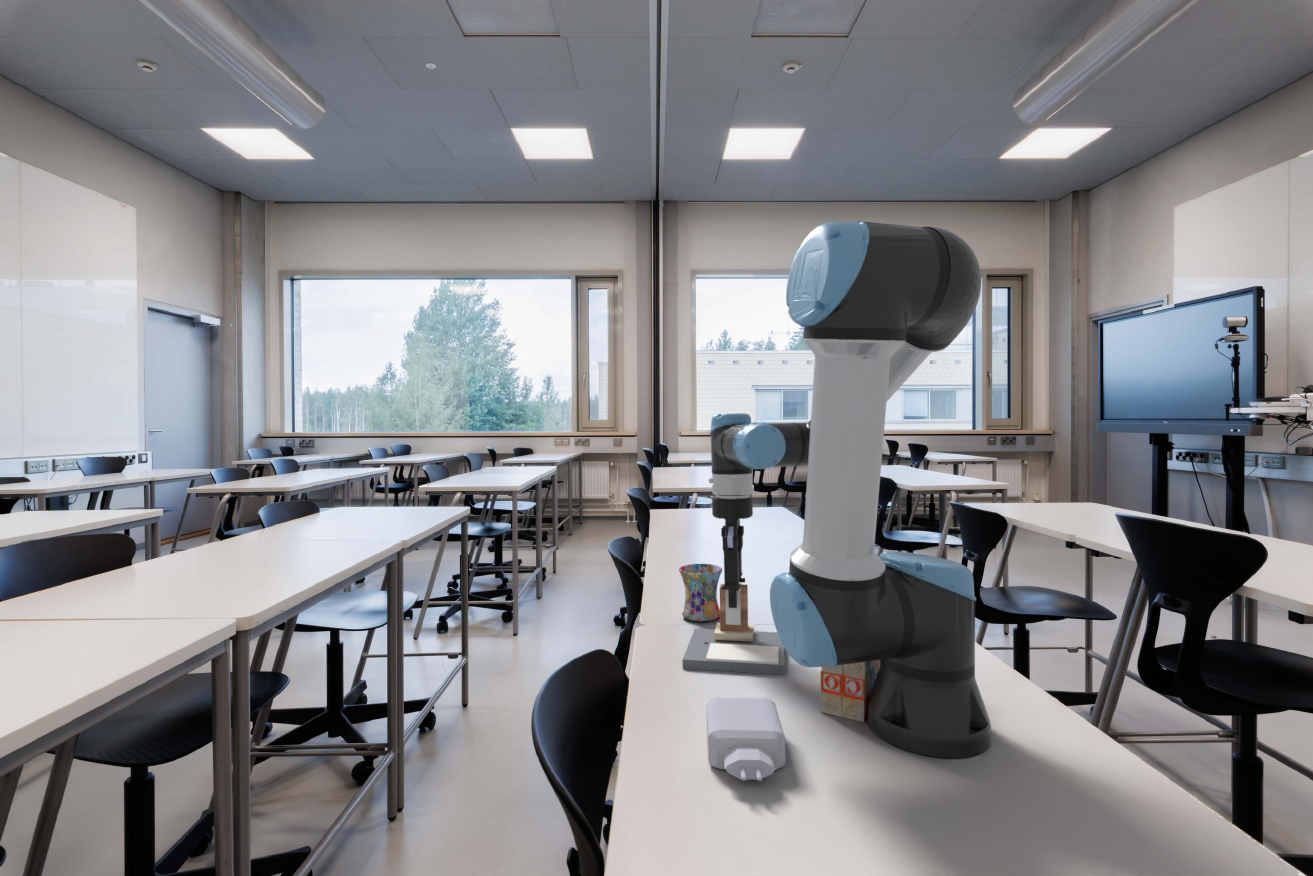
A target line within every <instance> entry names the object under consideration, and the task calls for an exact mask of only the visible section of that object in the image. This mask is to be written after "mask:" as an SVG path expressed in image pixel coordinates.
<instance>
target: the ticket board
mask: <svg viewBox="0 0 1313 876" xmlns="http://www.w3.org/2000/svg"><path fill="white" fill-rule="evenodd" d="M714 632H715V628H714V629H712V628H694V630H693V632H692V635H691V637H690V640H689V642H688V645H687V647H686V650H685V652H684V655H683V657H682V659H681V660H682V669H690V670H704V671H720V672H721V671H722V672H737V673H740V672H741V673H753V674H754V673H756V674H769V675H783V676H784V675H786V674H785V673H786V672H785V670H786V669H785V666H786V665H785V648H784V646H783V644H782V642H781V640H780V638H779V635H778V632H777V631H776V632H774V631H757V630H756V631H755V630H754V634H753V642H750V641H730V640H714Z"/></svg>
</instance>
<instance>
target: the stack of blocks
mask: <svg viewBox="0 0 1313 876" xmlns="http://www.w3.org/2000/svg"><path fill="white" fill-rule="evenodd" d="M879 667H880V660H876V661H868V662H860V663H852V664H844V665H836V666H835V667H833V668H829V667H827V666H824V667H820V668H821V670H820V713H823V714H827V715H831V716H835V717H839V718H843V719H848V720H853V721H856V722H862V723H865V722H866V720H867V703H868V699H869V696H870V693H871V691H872V688H873V685H874V682H875V679H876V676H877V673H878V670H879Z"/></svg>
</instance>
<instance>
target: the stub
mask: <svg viewBox="0 0 1313 876" xmlns="http://www.w3.org/2000/svg"><path fill="white" fill-rule="evenodd" d="M724 584H725V583H721V584H720V586H719V609H720V617H719V622H716V625H715V628H714V629H715V632H714V640H730V641H750V642H753V634H754V631H755V624H754V623H749V602H748V601H749V598H748V596H749V594H748V593H749V589H748V587H749V586H748V584H743V583H741V584H739V585H740V588H739V589H740V598H741V625H730V624H726V600H725V590H722V589H721V587H722V586H724Z"/></svg>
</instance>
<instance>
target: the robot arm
mask: <svg viewBox="0 0 1313 876" xmlns="http://www.w3.org/2000/svg"><path fill="white" fill-rule="evenodd" d="M980 268H981V267H980V263H979V261H978V258H977V257H976V254H975V252H974V250H973V249H972V247H971V246H970V245H969V244H968V243H967V242H966V241H965V240H964V239H963V238H961V237H960V236H959V235H958V234H956V233H954V232H952V231H949V230H947V229H944V228H941V227H934V226H915V225H914V226H913V225H903V224H892V223H882V222H873V221H872V222H871V221H863V220H854V221H853V220H852V221H830V222H825V223H822V224H821V225H818V226H817V227H815V228H814V229H813V230H812V231H810V232H809V234H808V235H807V236H806V237H804V240H803V241H802V243H801V244H800V246H799V248H798V249H797V251H796V253H795V255H794V257H793V260H792V263H791V266H790V269H789V273H788V279H787V283H786V290H785V291H786V294H785V297H786V306H787V307H788V311H787V312H788V315H789V318H790V319H791V320H792V322H793V323H795V324H796V325H798V326H800V327H803V337H802V341H803V343H804V344H805V346H806V347H808V348H809V350H811V352H812V353H813V355H814V365H813V382H812V396H811V398H812V399H811V412H810V420H809V421H807V422H774V423H772V422H770V423H769V422H767V423H766V422H752V416H751V415H750V414H748V413H741V412H736V413H716V414H714V415H713V416H712V417H711V423H710V432H709V434H710V448H711V449H710V451H711V453H710V454H711V458H710V459H711V477H710V478H709V479H708V483H709V484H713V485H711V487H712V488H711V489H712V492H711V493H712V495H714V497H712V499H711V504H712V505H711V508H712V511H711V512H712V514H711V515H712V516H713V517H714V518H715V519H722V520H724V521H725V522H724V525H722V527H721V529H720V530H721V535H720V536H721V537H722V551H723V569H724V572H723V575H724V577H723V578H724V583H723V584H724V586H722V587H721V589H722V590H725V600H726V624H730V625H741V598H740V589H739V588H740V585H739V584H743V583H744V584H745V583H746V577H742V576H743V571H742V568H743V567H742V566H743V565H742V557H743V556H742V550H743V548H744V547H743V546H744V539H743V538H744V533H745V526H744V525H741V520H742V519H743V520H744V519H745V520H746V519H749V518H751V517H753V515H754V509H753V507H754V505H753V504H754V503H753V502H754V501H753V500H754V499H753V498H752V496H751V495H752V494H753V493H754V492H753V491H754V489H753V487H754V486H753V485H754V484H753V470H759V469H760V470H765V469H771V468H772V467H773V468H776V467H795V466H797V467H798V466H799V467H801V466H802V467H804V466H806V467H807V476H806V489H805V490H806V491H805V492H806V495H805V507H804V520H803V521H804V523H803V525H804V526H803V539H802V543H800V545H799V546H798V545H797V547H796V548H794V549H793V550H792V551H791V552H790V556H789V568H788V572H781V573H780V574H777V575H776V576H774V578H773V580H772V581H771V584H770V588H769V589H770V590H769V603H770V610H771V615H772V620H773V623H774V626H775V629H776V632H778V635H779V638H780V640H781V642H782V644H783V646H784V650H785V651H786V653H787V654H788V656H789V657H790V658H792V660H793V661H795V663H797V664H798V665H800V666H803V667H805V668H821V667H824V666H827V667H829V668H833V667H835V666H836V665H844V664H852V663H860V662H868V661H876V660H880V667H879V670H878V673H877V676H876V679H875V682H874V685H873V688H872V691H871V693H870V696H869V699H868V703H867V718H866V720H867V725H868V726H869V728H870V730H871V731H872V732H873V733H874V734H876V736H878V737H879V738H880V739H883V740H884V741H886V742H887V743H888V744H889V743H890V745H893V746H894V747H898V748H899V749H903V750H905V751H907V752H912V753H915V754H919V755H924V756H929V757H937V758H947V759H948V758H949V759H954V758H955V759H956V758H959V759H960V758H966V757H967V758H968V757H972V756H977V755H979V754H981V753H983V752H985V751H986V750H987V749H988V748H989V747H990V745H991V742H992V737H991V735H992V734H991V733H992V730H991V729H992V728H991V720H990V718H989V717H990V716H989V714H988V712H987V708H986V706H985V705H986V704H985V703H984V700H983V697H982V694H981V692H980V691H981V690H980V689H979V686H978V683H977V680H976V668H975V667H976V658H975V657H976V656H975V655H976V654H975V652H976V649H975V647H976V646H975V645H976V643H975V642H976V640H975V639H976V637H975V636H976V634H975V633H976V601H977V597H976V596H975V586H974V584H975V583H974V575H973V573H972V571H971V570H970V569H969V567H967V566H966V565H964V564H962V563H959V562H957V561H953V560H951V559H946V558H944V557H943V558H942V557H938V556H933V555H927V554H921V553H916V552H915V553H914V552H905V551H893V550H890V551H889V550H888V551H882V552H880V554H879V555H878V554H877V552H876V551H875V544H876V543H875V542H876V531H877V521H878V520H877V519H878V506H879V494H880V484H881V473H882V472H881V470H882V460H883V449H884V448H883V447H884V437H885V436H884V434H885V427H886V424H885V423H886V415H887V414H886V411H887V402H889V400H890V399H891V398H892V397H893V396H894V394H896V392H897V391H898V390H899V389H900V388H901V386H902V385H904V384H905V382H906V381H907V380H908V379H910V377H911V376H912V375H913V374H914V372H915V371H917V369H918V368H919V367H920V366H921V365H922V364H923V363H924V361H925V360H927V358H928V357H929V356H930V355H931V354H932V353H937V352H941V351H944V350H945V349H947V348H948V347H949V346H950V345H951V343H953V342H954V340H955V339H956V338H957V337H958V336H959V335H960V333H961V332H963V330H964V329H965V328H966V326H967V325H968V324H969V321H970V320H971V318H972V317H973V315H974V313H975V311H976V308H977V306H978V303H979V300H980V295H981V290H982V274H981V273H982V272H981V269H980ZM740 519H741V520H740Z"/></svg>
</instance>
